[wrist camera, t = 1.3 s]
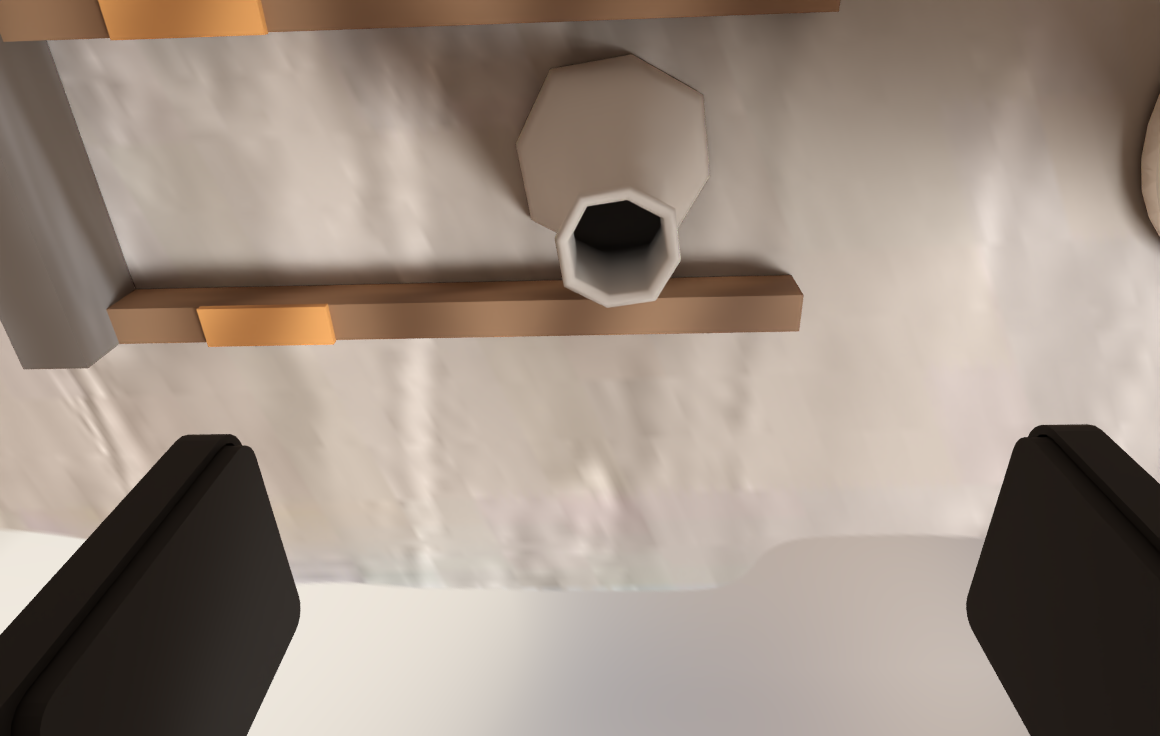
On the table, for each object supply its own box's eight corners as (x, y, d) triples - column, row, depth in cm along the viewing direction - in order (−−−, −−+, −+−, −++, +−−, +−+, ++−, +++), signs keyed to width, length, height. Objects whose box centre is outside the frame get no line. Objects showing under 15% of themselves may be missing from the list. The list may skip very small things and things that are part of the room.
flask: (528, 35, 25) (487, 72, 16) (733, 71, 25) (803, 125, 16) (506, 236, 28) (463, 355, 20) (687, 264, 29) (724, 394, 20)
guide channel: (827, -46, 23) (867, -48, 20) (787, 310, 29) (812, 356, 26) (-44, -11, 25) (-152, -8, 21) (89, 324, 31) (24, 370, 27)
